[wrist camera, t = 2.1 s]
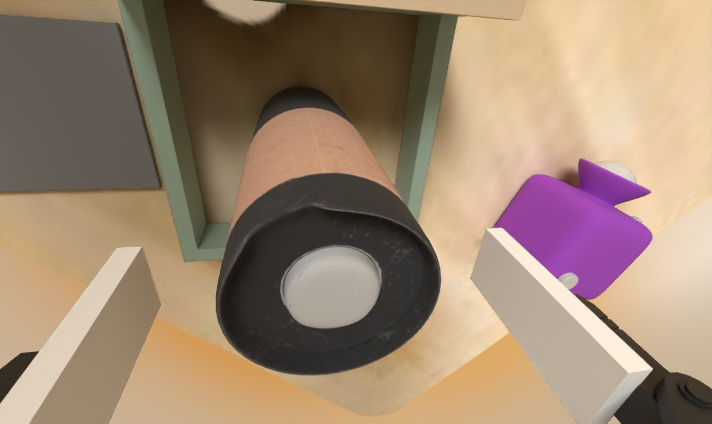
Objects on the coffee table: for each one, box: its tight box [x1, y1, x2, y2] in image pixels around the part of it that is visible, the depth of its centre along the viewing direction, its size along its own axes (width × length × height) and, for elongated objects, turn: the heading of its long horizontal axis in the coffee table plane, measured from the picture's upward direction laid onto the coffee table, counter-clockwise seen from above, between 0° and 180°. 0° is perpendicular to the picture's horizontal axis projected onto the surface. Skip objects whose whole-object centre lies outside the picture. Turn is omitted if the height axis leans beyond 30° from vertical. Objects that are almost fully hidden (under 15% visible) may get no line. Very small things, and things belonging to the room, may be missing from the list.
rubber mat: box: [0, 15, 161, 192], centre depth 23 cm, size 12×12×1 cm
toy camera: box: [494, 159, 652, 300], centre depth 33 cm, size 11×14×10 cm
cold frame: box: [118, 0, 526, 262], centre depth 23 cm, size 21×20×11 cm
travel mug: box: [216, 86, 441, 375], centre depth 19 cm, size 8×8×20 cm
